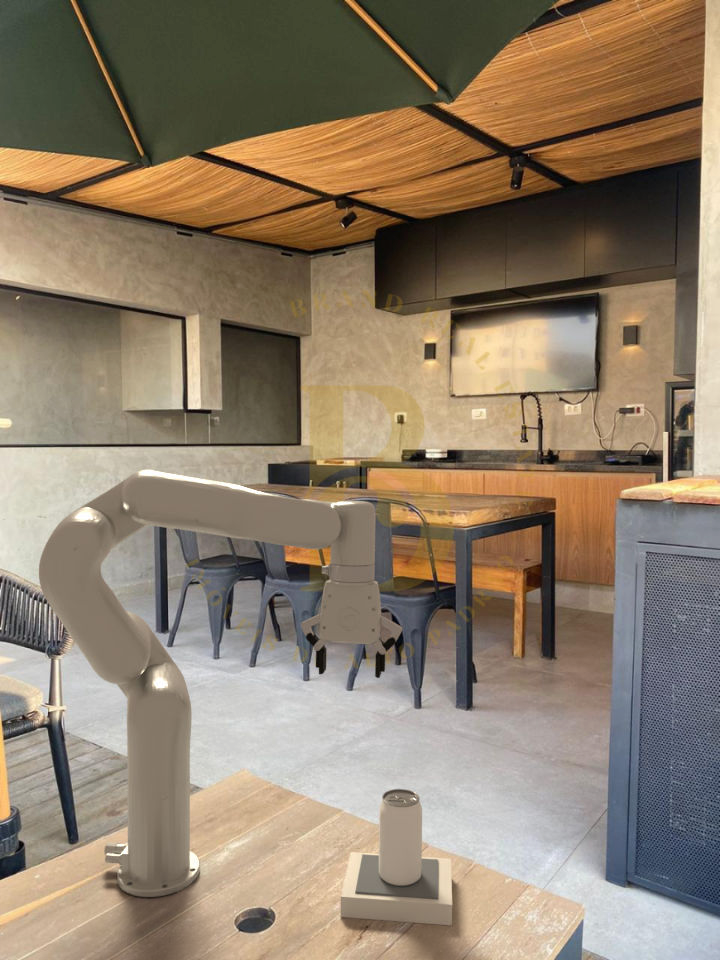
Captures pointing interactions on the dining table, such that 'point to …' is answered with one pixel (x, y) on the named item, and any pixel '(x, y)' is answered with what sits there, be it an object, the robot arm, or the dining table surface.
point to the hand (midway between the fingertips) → (350, 673)
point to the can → (400, 837)
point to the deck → (397, 892)
